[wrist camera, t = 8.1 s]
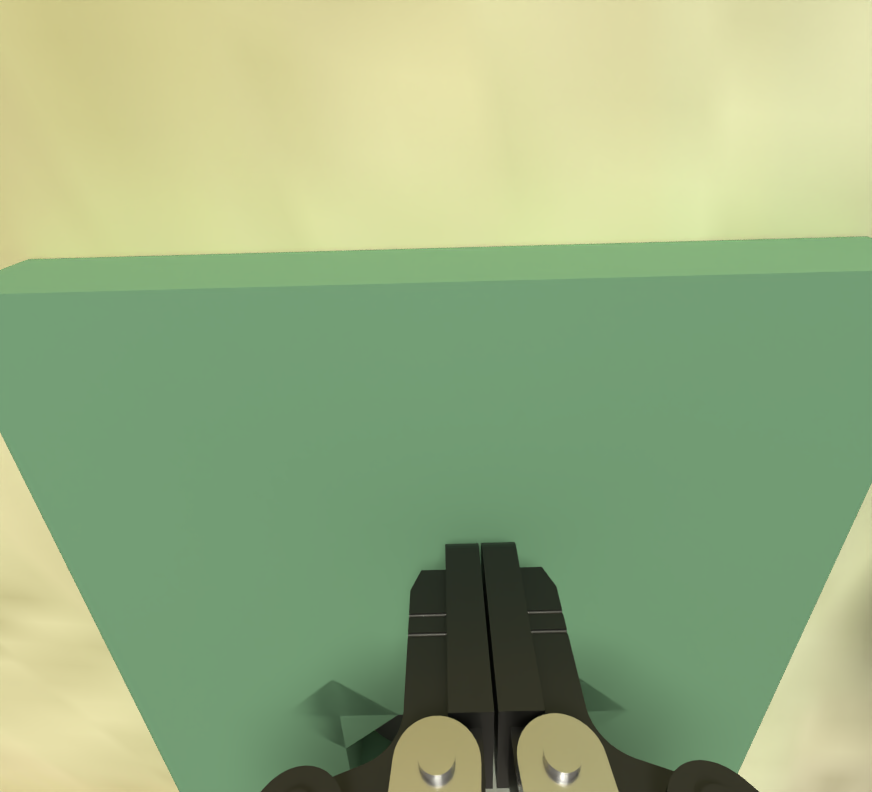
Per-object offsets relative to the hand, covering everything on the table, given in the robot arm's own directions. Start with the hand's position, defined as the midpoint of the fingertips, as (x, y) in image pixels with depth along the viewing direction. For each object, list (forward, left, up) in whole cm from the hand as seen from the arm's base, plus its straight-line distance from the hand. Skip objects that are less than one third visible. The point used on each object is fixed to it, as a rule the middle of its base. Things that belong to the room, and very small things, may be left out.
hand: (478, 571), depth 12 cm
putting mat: (+1, +5, -3) cm, 6 cm away
